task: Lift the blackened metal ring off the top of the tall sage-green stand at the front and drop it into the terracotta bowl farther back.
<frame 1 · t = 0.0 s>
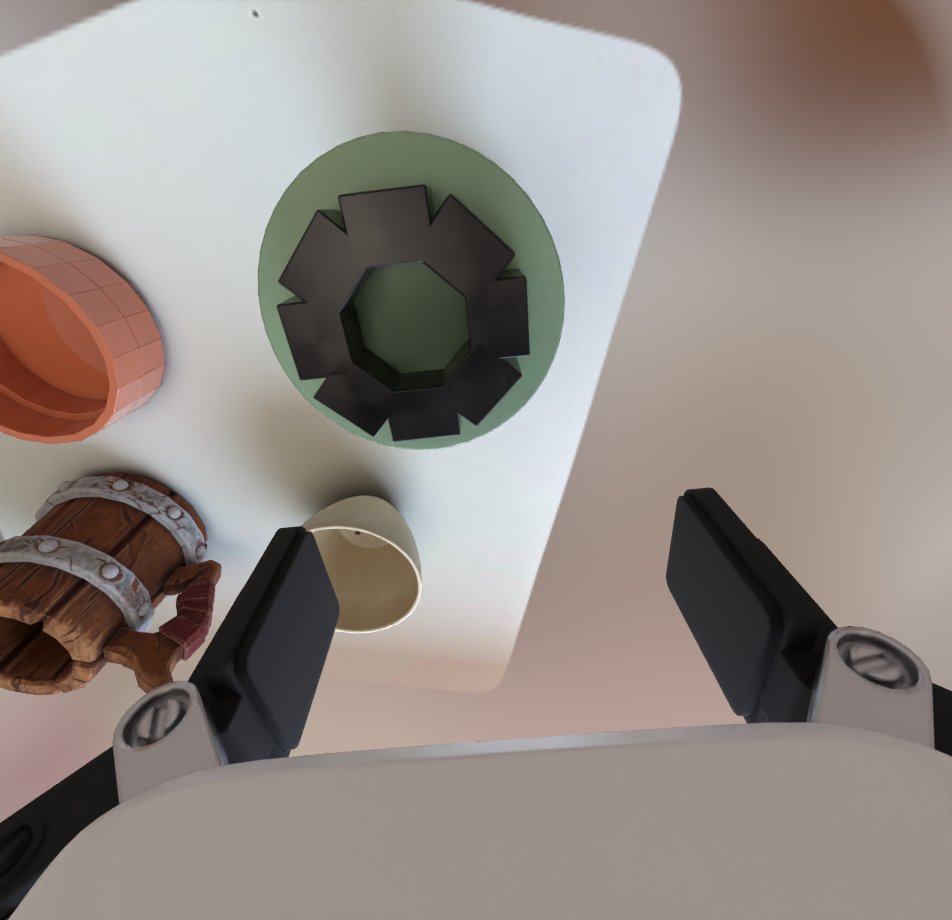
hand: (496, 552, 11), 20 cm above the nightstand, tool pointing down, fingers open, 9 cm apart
mug: (163, 527, 36), on the nightstand
bowl: (77, 331, 28), on the nightstand
ring: (413, 318, 15), point 14 cm above the nightstand, touching stand
flower pot: (368, 518, 36), on the nightstand
stand: (438, 266, 27), on the nightstand
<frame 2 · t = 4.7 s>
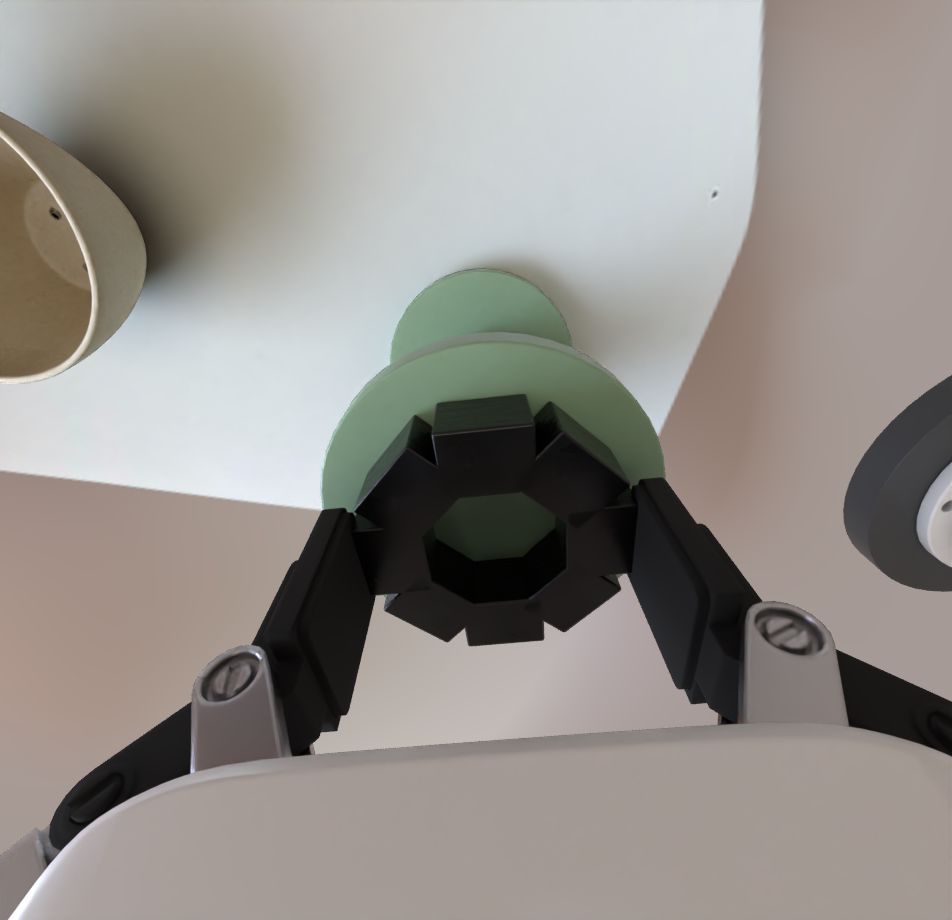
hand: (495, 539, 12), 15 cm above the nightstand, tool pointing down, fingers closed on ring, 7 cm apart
ring: (493, 511, 13), point 14 cm above the nightstand, touching gripper, stand
flower pot: (94, 234, 22), on the nightstand
stand: (481, 363, 25), on the nightstand
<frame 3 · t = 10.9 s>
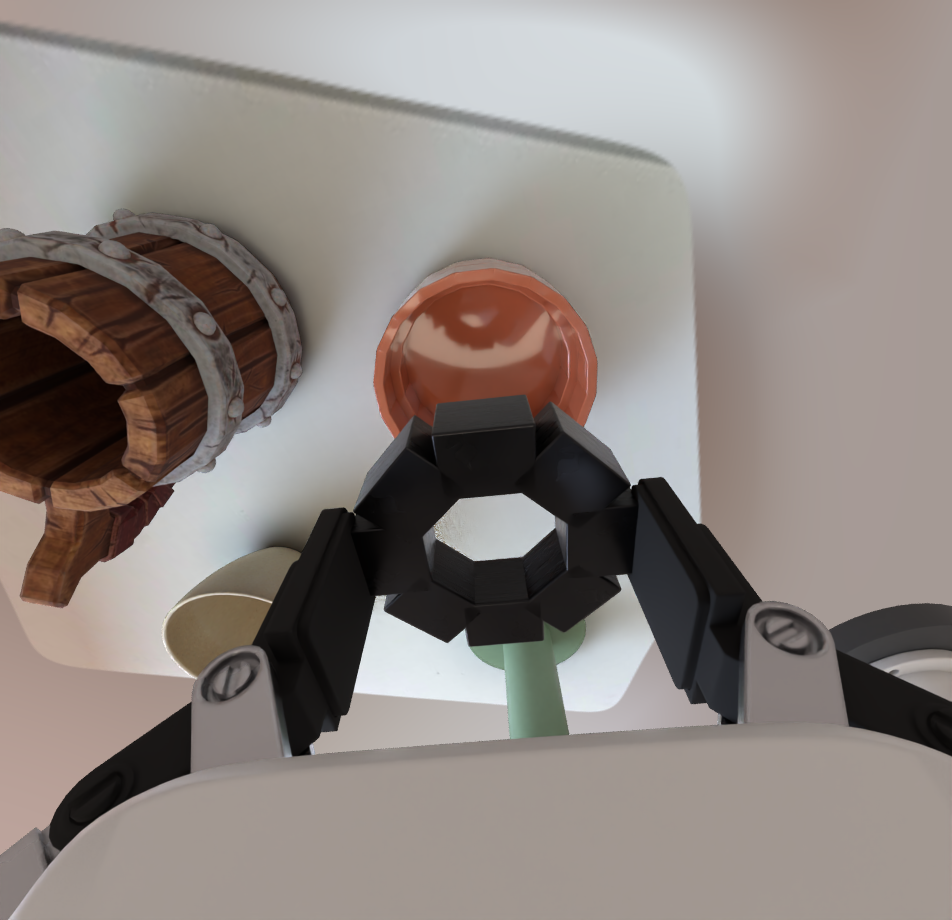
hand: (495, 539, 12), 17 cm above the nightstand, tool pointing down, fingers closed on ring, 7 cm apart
mug: (210, 354, 26), on the nightstand
bowl: (483, 359, 26), on the nightstand
ring: (493, 512, 13), point 15 cm above the nightstand, touching gripper
flower pot: (285, 568, 35), on the nightstand
stand: (524, 625, 38), on the nightstand
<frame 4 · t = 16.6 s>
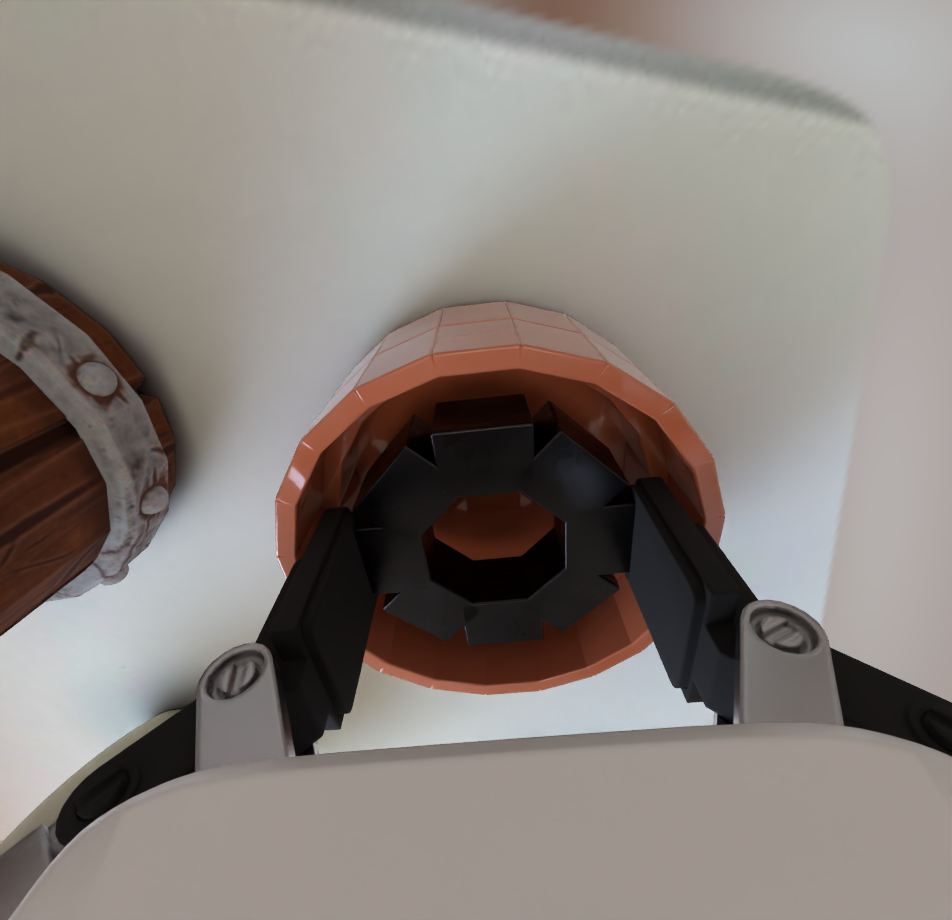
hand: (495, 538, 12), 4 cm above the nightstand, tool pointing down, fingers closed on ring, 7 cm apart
mug: (26, 456, 15), on the nightstand
bowl: (490, 463, 15), on the nightstand
ring: (492, 511, 13), point 3 cm above the nightstand, touching gripper
flower pot: (201, 730, 24), on the nightstand
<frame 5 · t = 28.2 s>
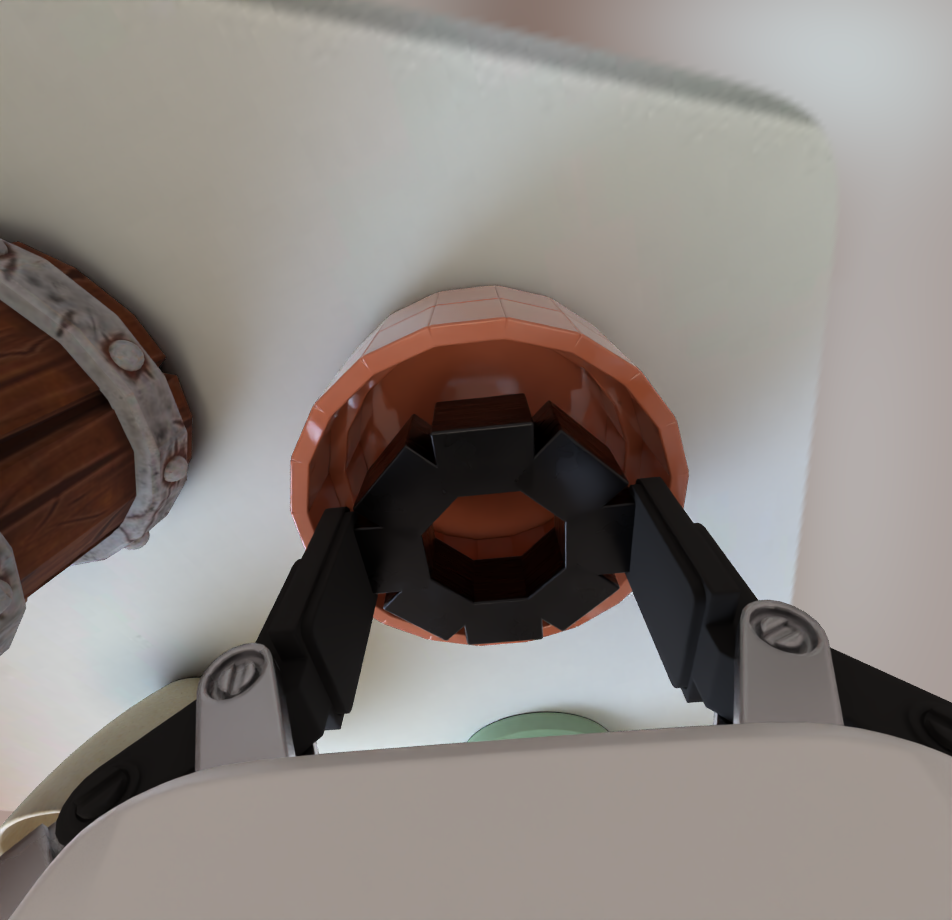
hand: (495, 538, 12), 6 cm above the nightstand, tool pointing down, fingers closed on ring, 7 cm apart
mug: (53, 431, 17), on the nightstand
bowl: (483, 437, 17), on the nightstand
ring: (492, 510, 13), point 4 cm above the nightstand, touching gripper
flower pot: (211, 699, 25), on the nightstand
stand: (538, 756, 29), on the nightstand
when the fingers open (8 cm above the nightstand, at t = 39.5 s): ring drops 6 cm, resting on bowl.
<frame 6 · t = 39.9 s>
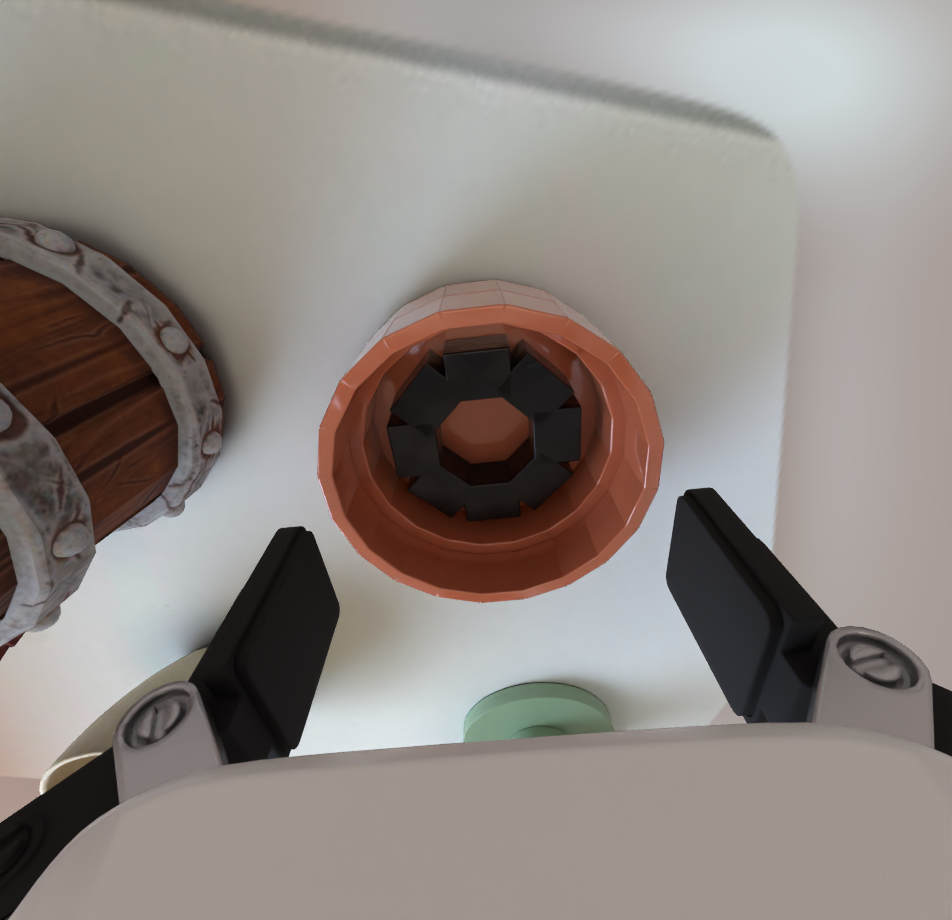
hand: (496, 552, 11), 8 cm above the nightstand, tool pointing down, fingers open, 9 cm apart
mug: (99, 412, 18), on the nightstand
bowl: (485, 418, 19), on the nightstand
ring: (484, 423, 18), point 1 cm above the nightstand, touching bowl
flower pot: (231, 668, 27), on the nightstand
stand: (536, 726, 30), on the nightstand
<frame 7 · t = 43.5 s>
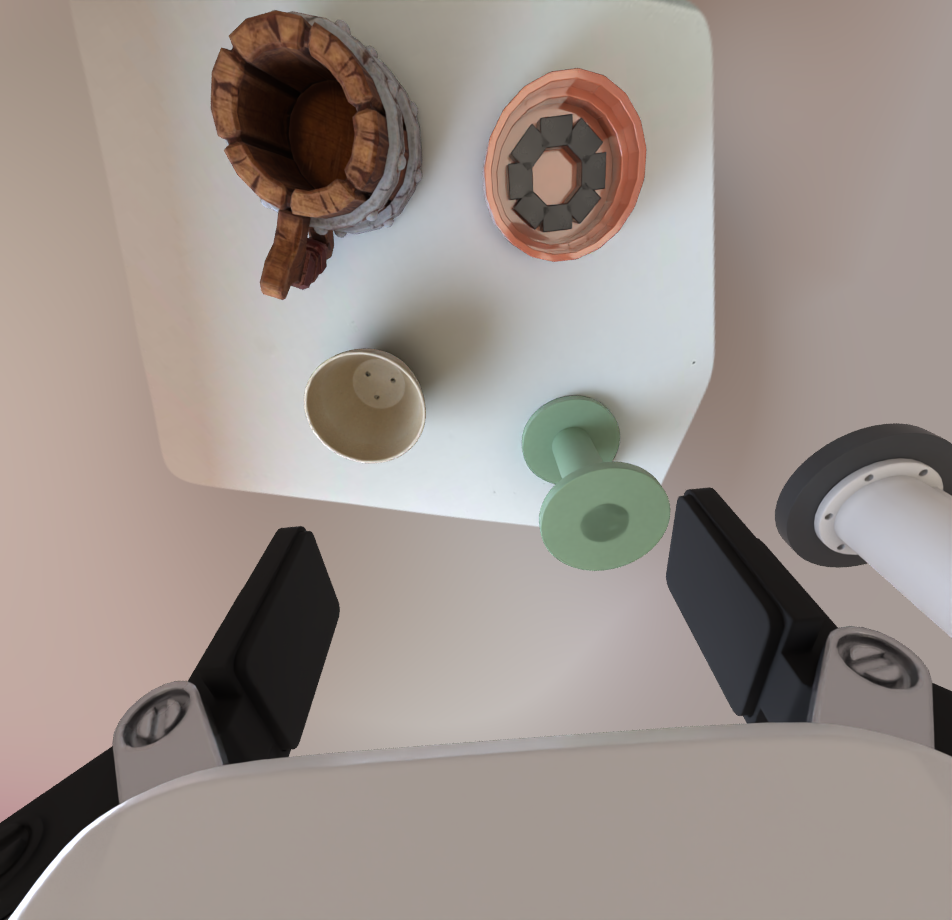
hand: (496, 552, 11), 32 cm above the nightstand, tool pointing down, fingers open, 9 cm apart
mug: (346, 172, 34), on the nightstand
bowl: (552, 177, 35), on the nightstand
ring: (553, 177, 34), resting on bowl
flower pot: (380, 381, 43), on the nightstand
stand: (569, 440, 46), on the nightstand
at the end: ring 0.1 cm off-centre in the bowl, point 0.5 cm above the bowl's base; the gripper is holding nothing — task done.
